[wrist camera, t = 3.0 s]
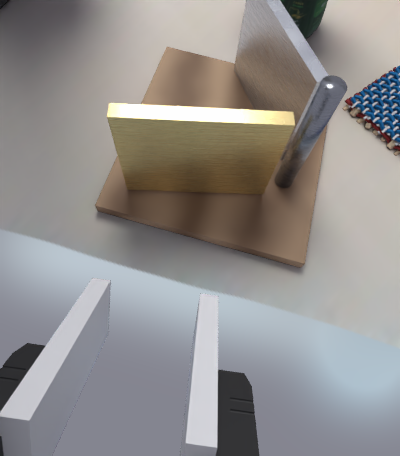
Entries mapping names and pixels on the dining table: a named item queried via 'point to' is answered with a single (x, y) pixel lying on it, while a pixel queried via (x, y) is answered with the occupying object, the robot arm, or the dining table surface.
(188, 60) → the walnut board
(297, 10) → the coffee jar
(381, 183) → the dining table surface
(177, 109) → the panel
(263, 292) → the dining table surface
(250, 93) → the steel leaf and pin
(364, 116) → the woven mat
